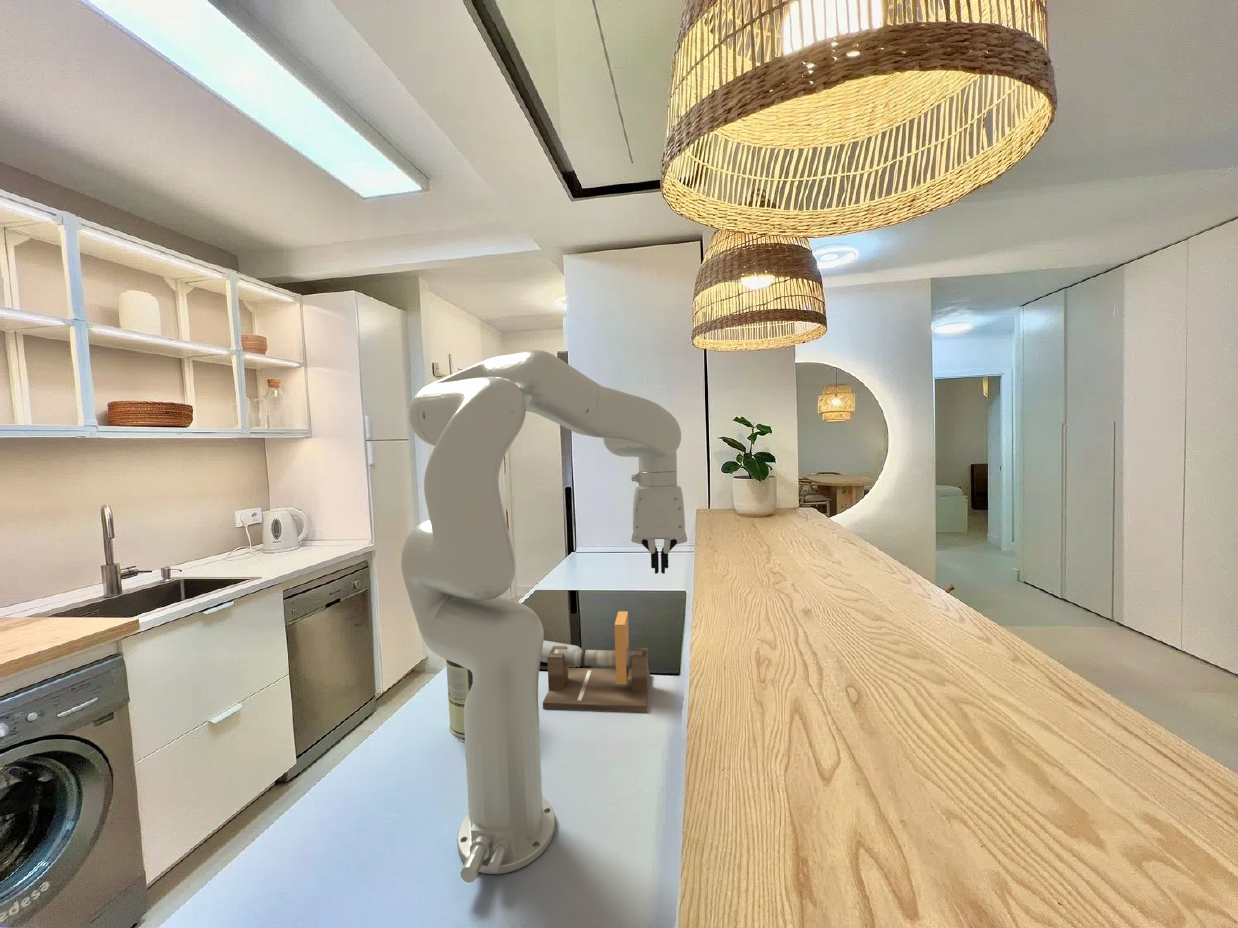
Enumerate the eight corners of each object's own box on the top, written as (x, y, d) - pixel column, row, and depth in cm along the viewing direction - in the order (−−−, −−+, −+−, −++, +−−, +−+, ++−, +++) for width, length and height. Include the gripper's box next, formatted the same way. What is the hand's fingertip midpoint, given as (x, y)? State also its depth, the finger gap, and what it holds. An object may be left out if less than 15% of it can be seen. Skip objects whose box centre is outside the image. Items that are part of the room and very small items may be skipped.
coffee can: (475, 701, 97) (472, 633, 96) (517, 713, 92) (514, 641, 91) (436, 731, 87) (432, 655, 86) (481, 745, 83) (477, 665, 82)
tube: (589, 644, 113) (499, 630, 122) (579, 646, 108) (486, 631, 117) (586, 669, 112) (496, 652, 121) (576, 672, 107) (483, 654, 116)
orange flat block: (626, 684, 95) (624, 624, 94) (616, 683, 95) (614, 624, 94) (629, 666, 102) (627, 611, 101) (620, 666, 102) (618, 611, 101)
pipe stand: (646, 712, 91) (645, 668, 91) (542, 708, 93) (541, 665, 93) (649, 675, 105) (648, 636, 105) (559, 672, 107) (558, 635, 107)
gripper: (617, 482, 92) (620, 577, 93) (697, 481, 91) (699, 577, 92) (621, 478, 100) (624, 566, 101) (695, 477, 98) (697, 566, 99)
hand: (659, 571), depth 96 cm, fingers closed
